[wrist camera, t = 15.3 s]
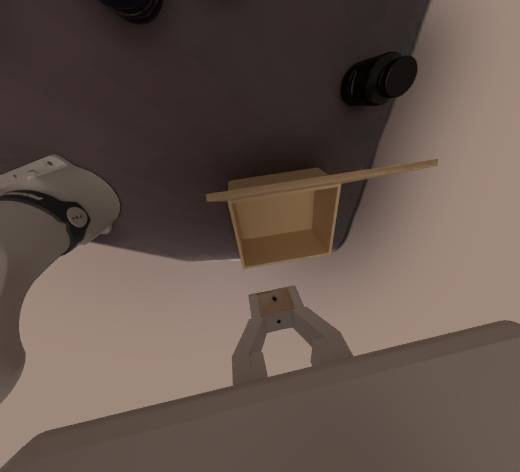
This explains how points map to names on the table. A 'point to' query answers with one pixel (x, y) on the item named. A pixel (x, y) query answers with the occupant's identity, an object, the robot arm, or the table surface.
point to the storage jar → (135, 9)
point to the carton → (284, 220)
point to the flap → (317, 181)
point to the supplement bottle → (378, 79)
